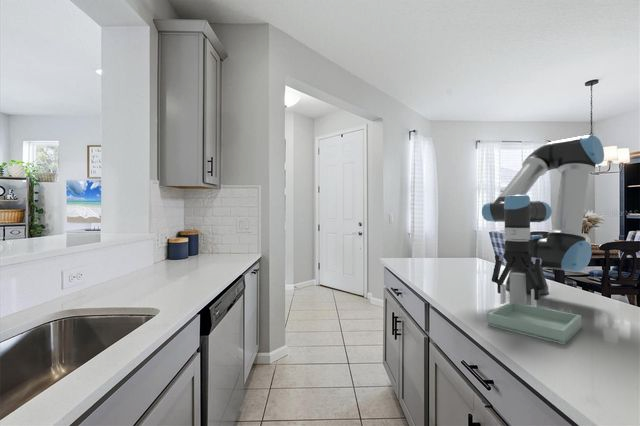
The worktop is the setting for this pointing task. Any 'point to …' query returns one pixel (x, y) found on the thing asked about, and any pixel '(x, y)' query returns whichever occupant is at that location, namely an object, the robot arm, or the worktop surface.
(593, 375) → the worktop surface
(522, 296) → the beverage can
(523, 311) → the tray
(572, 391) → the worktop surface
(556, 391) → the worktop surface
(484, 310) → the worktop surface
